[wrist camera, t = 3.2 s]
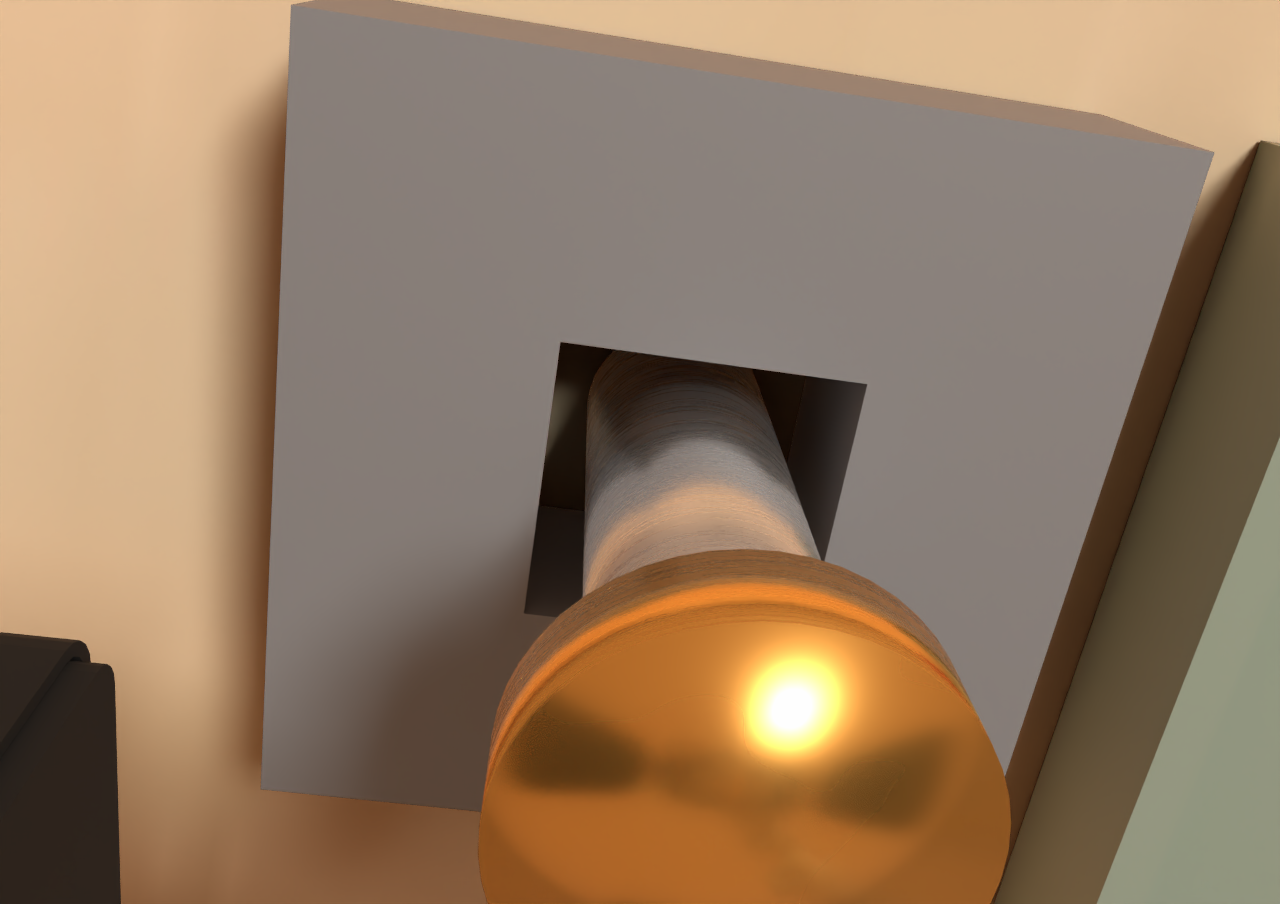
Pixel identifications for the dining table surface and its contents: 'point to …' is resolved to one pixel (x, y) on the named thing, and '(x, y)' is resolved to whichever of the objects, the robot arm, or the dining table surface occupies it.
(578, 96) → the grey square hole block
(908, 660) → the orange knob peg
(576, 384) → the dining table surface
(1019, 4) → the dining table surface
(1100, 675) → the tray
